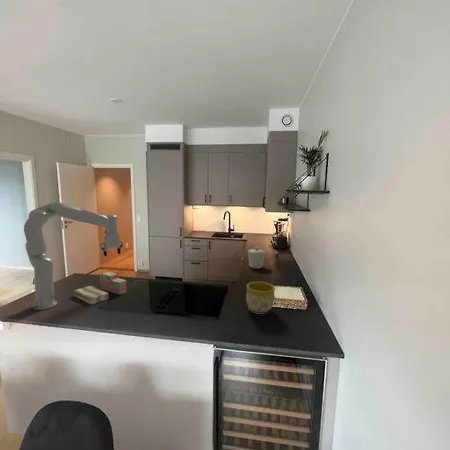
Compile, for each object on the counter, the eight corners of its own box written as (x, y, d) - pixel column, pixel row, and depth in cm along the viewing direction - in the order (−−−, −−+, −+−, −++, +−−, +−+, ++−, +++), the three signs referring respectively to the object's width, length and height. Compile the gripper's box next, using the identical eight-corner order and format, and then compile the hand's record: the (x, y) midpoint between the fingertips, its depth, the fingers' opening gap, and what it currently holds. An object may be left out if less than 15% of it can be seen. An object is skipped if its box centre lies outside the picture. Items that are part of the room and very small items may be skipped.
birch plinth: (91, 304, 165) (91, 298, 165) (74, 295, 177) (73, 290, 177) (108, 298, 175) (108, 293, 174) (91, 290, 187) (91, 285, 187)
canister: (257, 271, 249) (259, 249, 246) (243, 267, 261) (244, 246, 258) (268, 267, 262) (269, 247, 259) (253, 263, 274) (254, 244, 271)
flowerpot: (253, 319, 154) (255, 293, 152) (240, 306, 170) (241, 282, 168) (279, 315, 161) (280, 289, 158) (264, 303, 177) (265, 280, 175)
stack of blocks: (126, 292, 187) (126, 276, 186) (119, 295, 182) (119, 278, 180) (106, 286, 197) (106, 270, 195) (99, 289, 191) (99, 273, 190)
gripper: (101, 233, 178) (101, 257, 180) (125, 231, 190) (126, 254, 192) (97, 232, 183) (98, 255, 185) (121, 230, 195) (121, 252, 198)
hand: (112, 254), depth 189 cm, fingers open, 9 cm apart
